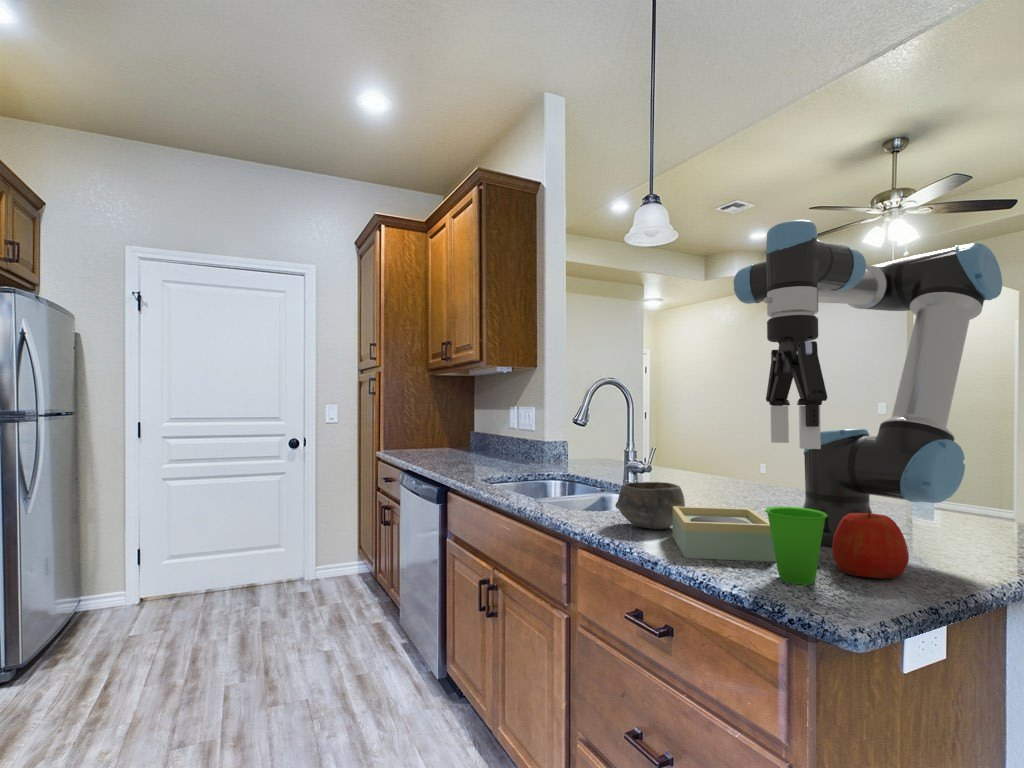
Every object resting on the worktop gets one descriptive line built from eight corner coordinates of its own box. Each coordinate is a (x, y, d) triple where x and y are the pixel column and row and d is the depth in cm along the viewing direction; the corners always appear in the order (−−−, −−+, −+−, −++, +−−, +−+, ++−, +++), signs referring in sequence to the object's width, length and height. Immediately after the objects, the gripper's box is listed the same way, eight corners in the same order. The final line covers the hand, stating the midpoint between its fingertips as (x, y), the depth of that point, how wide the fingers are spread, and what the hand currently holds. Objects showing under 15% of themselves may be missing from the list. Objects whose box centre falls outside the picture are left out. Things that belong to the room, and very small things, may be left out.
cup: (838, 591, 82) (837, 518, 82) (774, 587, 84) (773, 516, 84) (817, 573, 91) (816, 507, 91) (759, 569, 92) (759, 505, 93)
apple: (881, 589, 83) (879, 519, 83) (816, 569, 93) (815, 507, 93) (923, 580, 87) (922, 514, 88) (857, 562, 97) (856, 503, 98)
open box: (751, 539, 113) (750, 508, 113) (776, 561, 97) (775, 525, 97) (672, 536, 115) (672, 506, 116) (684, 557, 99) (684, 522, 100)
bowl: (693, 535, 117) (692, 489, 117) (622, 535, 117) (622, 488, 117) (674, 521, 131) (674, 480, 131) (611, 521, 131) (611, 479, 131)
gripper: (747, 328, 102) (748, 440, 101) (795, 303, 77) (797, 451, 76) (789, 327, 100) (791, 440, 100) (851, 301, 76) (854, 452, 75)
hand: (793, 445), depth 88 cm, fingers open, 13 cm apart
